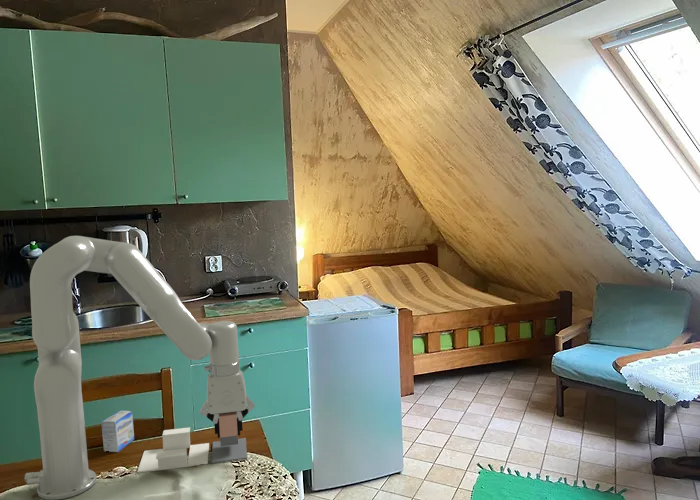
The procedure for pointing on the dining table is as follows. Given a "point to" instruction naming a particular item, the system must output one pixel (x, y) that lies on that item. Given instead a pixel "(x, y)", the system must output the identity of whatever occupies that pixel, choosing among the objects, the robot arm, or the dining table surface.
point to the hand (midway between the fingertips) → (229, 434)
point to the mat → (229, 451)
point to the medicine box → (117, 431)
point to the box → (228, 429)
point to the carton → (174, 452)
